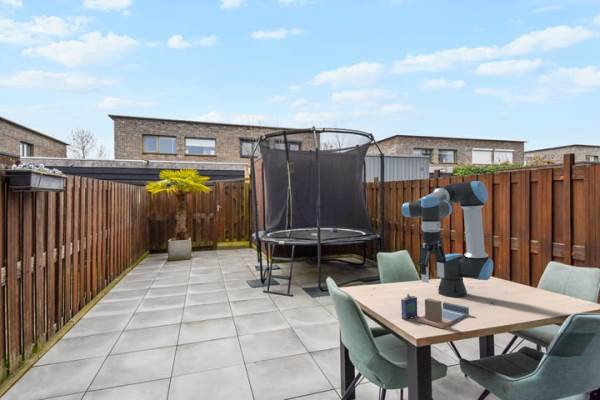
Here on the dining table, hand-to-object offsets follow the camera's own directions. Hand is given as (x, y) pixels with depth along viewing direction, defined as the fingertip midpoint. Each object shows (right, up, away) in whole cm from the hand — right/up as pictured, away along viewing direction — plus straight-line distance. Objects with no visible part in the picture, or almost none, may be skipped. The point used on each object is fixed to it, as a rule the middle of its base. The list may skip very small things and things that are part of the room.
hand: (433, 279), depth 133 cm
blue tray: (+11, -19, +8) cm, 23 cm away
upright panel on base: (+1, -19, 0) cm, 19 cm away
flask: (-8, -20, +8) cm, 23 cm away
